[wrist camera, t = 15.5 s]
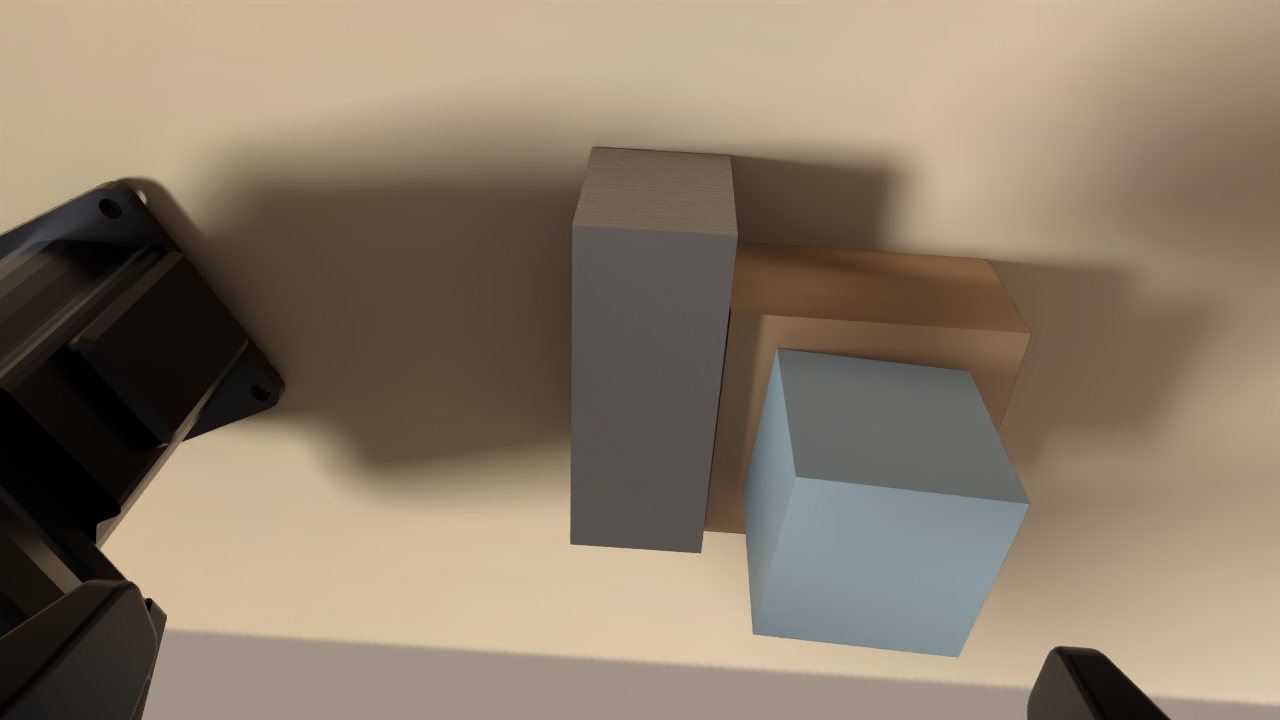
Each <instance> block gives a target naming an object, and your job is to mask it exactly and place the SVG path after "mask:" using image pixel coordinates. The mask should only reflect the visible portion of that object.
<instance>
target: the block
mask: <svg viewBox="0 0 1280 720" xmlns="http://www.w3.org/2000/svg"><path fill="white" fill-rule="evenodd" d="M743 503H744V517H745V531H746V545H747V558H748V572H749V586H750V600H751V614H752V628H753V634H755V635H764V636H772V637H781V638H790V639H799V640H808V641H817V642H825V643H834V644H843V645H852V646H861V647H870V648H879V649H887V650H896V651H905V652H914V653H923V654H932V655H941V656H949V657H958V656H959V654H960V652H961V650H962V648H963V646H964V644H965V642H966V639H967V637H968V635H969V633H970V631H971V629H972V627H973V625H974V623H975V620H976V618H977V616H978V614H979V612H980V610H981V608H982V606H983V603H984V601H985V599H986V597H987V595H988V593H989V591H990V589H991V587H992V584H993V582H994V580H995V578H996V576H997V574H998V572H999V570H1000V567H1001V565H1002V563H1003V561H1004V559H1005V557H1006V555H1007V553H1008V551H1009V548H1010V546H1011V544H1012V542H1013V540H1014V538H1015V536H1016V534H1017V531H1018V529H1019V527H1020V525H1021V523H1022V521H1023V519H1024V517H1025V514H1026V512H1027V510H1028V508H1029V506H1030V503H1029V500H1028V498H1027V496H1026V494H1025V492H1024V489H1023V487H1022V485H1021V483H1020V481H1019V479H1018V476H1017V474H1016V472H1015V470H1014V468H1013V465H1012V463H1011V461H1010V459H1009V457H1008V455H1007V452H1006V450H1005V448H1004V446H1003V444H1002V442H1001V439H1000V437H999V435H998V433H997V431H996V428H995V426H994V424H993V422H992V420H991V418H990V415H989V413H988V411H987V409H986V407H985V404H984V402H983V400H982V398H981V396H980V394H979V391H978V389H977V387H976V385H975V383H974V381H973V378H972V376H971V374H970V372H969V371H961V370H952V369H944V368H936V367H927V366H919V365H911V364H902V363H894V362H886V361H878V360H869V359H861V358H853V357H844V356H836V355H828V354H819V353H811V352H803V351H794V350H786V349H778V348H777V350H776V354H775V359H774V363H773V367H772V372H771V376H770V380H769V384H768V389H767V393H766V397H765V402H764V406H763V410H762V414H761V419H760V423H759V427H758V432H757V436H756V440H755V444H754V449H753V453H752V457H751V462H750V466H749V470H748V474H747V479H746V483H745V487H744V492H743Z"/></svg>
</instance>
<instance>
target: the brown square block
mask: <svg viewBox="0 0 1280 720" xmlns="http://www.w3.org/2000/svg"><path fill="white" fill-rule="evenodd" d="M1030 336H1031V332H1030V330H1029V328H1028V327H1027V325H1026V323H1025V322H1024V320H1023V318H1022V317H1021V315H1020V313H1019V312H1018V310H1017V308H1016V307H1015V305H1014V303H1013V301H1012V300H1011V298H1010V296H1009V295H1008V293H1007V291H1006V290H1005V288H1004V286H1003V285H1002V283H1001V281H1000V280H999V278H998V276H997V275H996V273H995V271H994V269H993V268H992V266H991V264H990V263H989V261H988V259H974V258H960V257H945V256H930V255H916V254H901V253H886V252H871V251H857V250H842V249H827V248H812V247H798V246H783V245H768V244H754V243H739V242H737V248H736V257H735V265H734V274H733V282H732V291H731V300H730V308H729V317H728V325H727V334H726V343H725V351H724V360H723V368H722V377H721V386H720V394H719V403H718V411H717V420H716V428H715V437H714V446H713V454H712V463H711V471H710V480H709V489H708V497H707V506H706V514H705V523H704V531H712V532H726V533H740V534H746V531H745V517H744V503H743V492H744V487H745V483H746V479H747V474H748V470H749V466H750V462H751V457H752V453H753V449H754V444H755V440H756V436H757V432H758V427H759V423H760V419H761V414H762V410H763V406H764V402H765V397H766V393H767V389H768V384H769V380H770V376H771V372H772V367H773V363H774V359H775V354H776V350H777V348H778V349H786V350H794V351H803V352H811V353H819V354H828V355H836V356H844V357H853V358H861V359H869V360H878V361H886V362H894V363H902V364H911V365H919V366H927V367H936V368H944V369H952V370H961V371H969V372H970V374H971V376H972V378H973V381H974V383H975V385H976V387H977V389H978V391H979V394H980V396H981V398H982V400H983V402H984V404H985V407H986V409H987V411H988V413H989V415H990V418H991V420H992V422H993V424H994V426H995V428H996V431H997V433H998V430H999V427H1000V425H1001V422H1002V419H1003V416H1004V413H1005V410H1006V407H1007V404H1008V401H1009V398H1010V395H1011V392H1012V389H1013V386H1014V383H1015V380H1016V377H1017V375H1018V372H1019V369H1020V366H1021V363H1022V360H1023V357H1024V354H1025V351H1026V348H1027V345H1028V342H1029V339H1030Z"/></svg>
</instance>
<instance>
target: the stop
mask: <svg viewBox="0 0 1280 720" xmlns="http://www.w3.org/2000/svg"><path fill="white" fill-rule="evenodd" d="M737 239H738V231H737V221H736V210H735V200H734V189H733V179H732V168H731V158H730V156H727V155H710V154H694V153H678V152H662V151H646V150H630V149H614V148H598V147H593V148H592V152H591V155H590V159H589V163H588V167H587V171H586V174H585V178H584V182H583V186H582V190H581V193H580V197H579V201H578V205H577V209H576V212H575V216H574V220H573V224H572V345H571V532H570V544H574V545H588V546H603V547H617V548H632V549H646V550H661V551H676V552H690V553H701V549H702V540H703V532H704V523H705V514H706V506H707V497H708V489H709V480H710V471H711V463H712V454H713V446H714V437H715V428H716V420H717V411H718V403H719V394H720V386H721V377H722V368H723V360H724V351H725V343H726V334H727V325H728V317H729V308H730V300H731V291H732V282H733V274H734V265H735V257H736V248H737Z"/></svg>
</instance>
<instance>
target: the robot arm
mask: <svg viewBox="0 0 1280 720" xmlns="http://www.w3.org/2000/svg"><path fill="white" fill-rule="evenodd" d="M108 199H111V200H114V201H115V202H116V203H117V204H119V206H120V208H121V210H122V212H120V211H117V210H115V209H114V208H113V207H112V206H111V205H110V203H109V201H108ZM257 385H262V386H264V387H265V388H267V389H268V390H269V392H266V391H263V390H261V389H260V388H259V387H258V386H257ZM284 392H285V383H284V381H283V379H282V378H281V376H280V375H279V374H278V373H277V371H276V370H275V369H274V367H273V366H272V365H271V364H270V362H269V361H268V360H267V359H266V357H265V356H264V355H263V354H262V352H261V351H260V350H259V348H258V347H257V346H256V345H255V343H254V342H253V341H252V340H251V338H250V337H249V336H248V335H247V333H246V332H245V331H244V329H243V328H242V327H241V326H240V324H239V323H238V322H237V321H236V319H235V318H234V317H233V316H232V314H231V313H230V312H229V310H228V309H227V308H226V307H225V305H224V304H223V303H222V302H221V300H220V299H219V298H218V297H217V295H216V294H215V293H214V291H213V290H212V289H211V288H210V286H209V285H208V284H207V283H206V281H205V280H204V279H203V278H202V276H201V275H200V274H199V273H198V271H197V270H196V269H195V267H194V266H193V265H192V264H191V262H190V261H189V260H188V259H187V257H186V256H185V255H184V254H183V252H182V251H181V250H180V249H179V247H178V246H177V245H176V244H175V242H174V241H173V240H172V238H171V237H170V236H169V235H168V233H167V232H166V231H165V230H164V228H163V227H162V226H161V225H160V223H159V222H158V221H157V219H156V218H155V217H154V216H153V214H152V213H151V212H150V211H149V209H148V208H147V207H146V206H145V204H144V203H143V202H142V201H141V199H140V198H139V197H138V195H137V194H136V193H135V192H134V191H133V190H132V189H131V188H130V187H128V186H126V185H124V184H122V183H119V182H113V181H111V182H106V183H103V184H101V185H99V186H97V187H95V188H93V189H91V190H89V191H87V192H85V193H83V194H81V195H79V196H77V197H75V198H73V199H71V200H69V201H67V202H65V203H63V204H61V205H59V206H57V207H54V208H52V209H50V210H48V211H46V212H44V213H42V214H40V215H38V216H36V217H34V218H32V219H30V220H28V221H26V222H24V223H22V224H20V225H18V226H16V227H14V228H12V229H10V230H8V231H6V232H4V233H2V234H0V720H141V718H142V715H143V711H144V707H145V702H146V699H147V695H148V691H149V687H150V683H151V679H152V675H153V671H154V667H155V663H156V659H157V655H158V651H159V647H160V643H161V639H162V635H163V631H164V627H165V623H166V620H167V615H166V614H165V613H164V612H163V611H162V610H161V608H160V607H159V606H158V605H157V604H156V603H155V602H154V601H153V600H152V599H151V598H146V599H145V598H144V597H143V596H142V594H141V591H140V589H139V587H138V586H137V585H136V584H134V583H133V582H131V581H128V580H127V579H126V578H125V576H124V575H123V574H122V573H121V572H120V571H119V570H118V569H117V568H116V567H115V566H114V564H113V563H112V562H111V561H110V560H109V559H108V558H107V557H106V556H105V555H104V554H103V553H102V551H101V550H100V548H101V547H102V546H103V544H104V543H105V542H106V540H107V539H108V538H109V536H110V535H111V534H112V533H113V531H114V530H115V529H116V527H117V526H118V525H119V523H120V522H121V521H122V519H123V518H124V517H125V515H126V514H127V513H128V511H129V510H130V509H131V507H132V506H133V505H134V503H135V502H136V501H137V499H138V498H139V497H140V496H141V494H142V493H143V492H144V490H145V489H146V488H147V486H148V485H149V484H150V482H151V481H152V480H153V478H154V477H155V476H156V474H157V473H158V472H159V470H160V469H161V468H162V466H163V465H164V464H165V463H166V461H167V460H168V459H169V457H170V456H171V455H172V453H173V452H174V451H175V449H176V448H177V447H178V445H179V444H180V443H181V442H183V441H185V440H188V439H191V438H193V437H196V436H198V435H201V434H204V433H206V432H209V431H212V430H214V429H217V428H219V427H222V426H225V425H227V424H230V423H233V422H235V421H238V420H240V419H243V418H246V417H248V416H251V415H254V414H256V413H259V412H261V411H264V410H267V409H269V408H272V407H273V406H275V405H276V404H277V403H278V402H279V400H280V399H281V397H282V396H283V394H284ZM1027 719H1028V720H1171V719H1170V718H1169V717H1168V716H1167V715H1166V714H1165V713H1164V712H1163V711H1162V710H1161V709H1160V708H1159V707H1158V706H1157V705H1156V704H1155V703H1154V702H1153V701H1152V700H1151V699H1150V698H1149V697H1148V696H1147V695H1146V694H1144V693H1143V692H1142V691H1141V690H1140V689H1139V688H1138V687H1137V686H1136V685H1135V684H1134V683H1133V682H1132V681H1131V680H1130V679H1129V678H1128V677H1127V676H1126V675H1125V674H1124V673H1123V672H1122V671H1121V670H1120V669H1119V668H1118V667H1117V666H1116V665H1115V664H1114V663H1113V662H1112V661H1111V660H1110V659H1109V658H1108V657H1106V656H1105V655H1104V654H1103V653H1101V652H1099V651H1098V650H1095V649H1091V648H1080V647H1066V646H1059V647H1055V648H1054V649H1053V650H1051V651H1050V653H1049V654H1048V656H1047V658H1046V660H1045V663H1044V665H1043V667H1042V669H1041V671H1040V674H1039V676H1038V678H1037V680H1036V683H1035V685H1034V687H1033V689H1032V692H1031V694H1030V696H1029V700H1028V705H1027Z"/></svg>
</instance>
